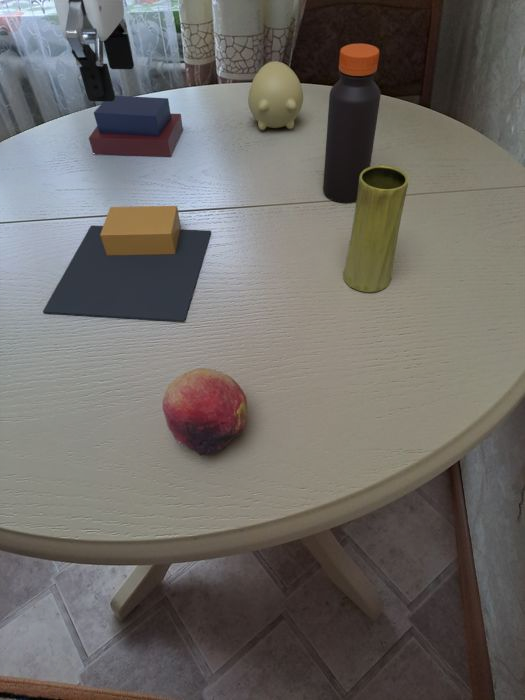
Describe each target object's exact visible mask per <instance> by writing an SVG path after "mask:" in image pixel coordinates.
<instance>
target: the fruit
mask: <svg viewBox="0 0 525 700" xmlns="http://www.w3.org/2000/svg"><path fill="white" fill-rule="evenodd" d="M162 411H163V414H164V418H165V422H166V425H167V429H168V430H169V431H170V433H171V435H172V436H173V438H174V440H175V442H176V443H177V444H178V445H185V446H186V447H188V448H189V449H191V450H192V451H195V453H197V454H198V455H199V456H207V455H212V454H214V453H217V452H219V451H221V450H222V449H224V448H225V447H226V446H227V445H228V444H229V443H230V442H231V441H232V440H234V439H235V438H237V437H238V436H239V435H241V434H242V433H243V431H244V430H245V427H246V421H247V417H248V403H247V396H246V394H245V392H244V390H243V389H242V387H241V386H240V385H239V383H237V381H236V380H235V379H234V378H233V377H232V376H230V375H228V374H226V373H224V372H222V371H219V370H216V369H214V368H213V369H212V368H204V367H200V368H195V369H191V370H190V371H187V372H184V373H182V374H181V375H179V376H178V377H176V378H175V379H174V380H173V381H171V383H170V384H169V385H168V386H167V388H166V390H165V391H164V396H163V399H162Z"/></svg>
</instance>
